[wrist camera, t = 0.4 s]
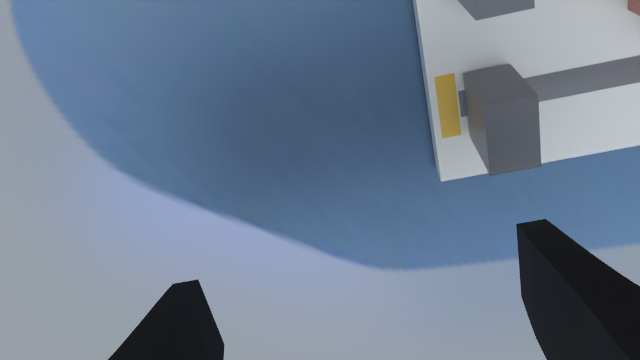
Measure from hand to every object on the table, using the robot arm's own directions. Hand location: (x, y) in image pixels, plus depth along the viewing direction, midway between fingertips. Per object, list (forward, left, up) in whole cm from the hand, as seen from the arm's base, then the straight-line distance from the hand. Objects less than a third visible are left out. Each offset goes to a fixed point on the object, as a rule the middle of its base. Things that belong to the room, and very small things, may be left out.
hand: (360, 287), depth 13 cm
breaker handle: (-5, 0, -9) cm, 10 cm away
